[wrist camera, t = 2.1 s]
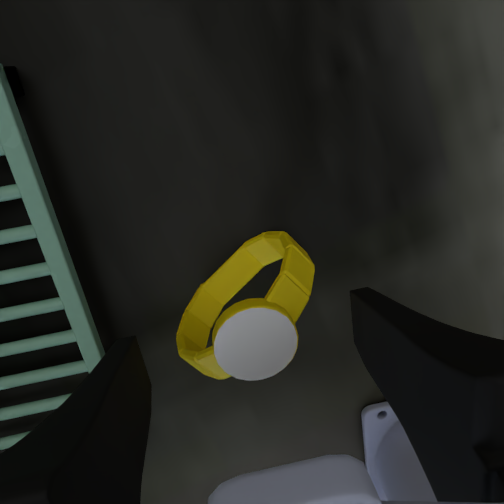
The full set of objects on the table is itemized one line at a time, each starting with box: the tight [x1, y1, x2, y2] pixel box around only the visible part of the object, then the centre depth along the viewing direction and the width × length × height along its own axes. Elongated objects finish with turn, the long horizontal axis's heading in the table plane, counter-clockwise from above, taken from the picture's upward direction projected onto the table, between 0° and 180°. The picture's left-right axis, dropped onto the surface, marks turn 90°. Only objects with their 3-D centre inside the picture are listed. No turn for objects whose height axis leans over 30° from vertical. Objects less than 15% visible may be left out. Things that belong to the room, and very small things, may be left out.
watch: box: [176, 231, 315, 381], centre depth 17 cm, size 6×3×6 cm, turn 133°
